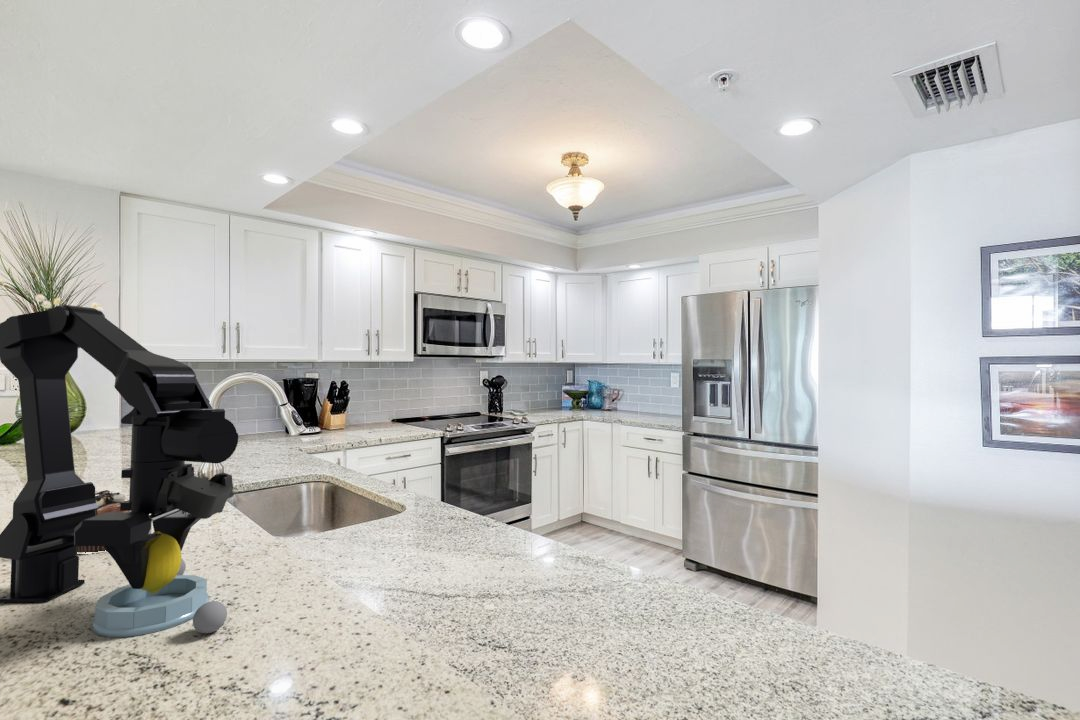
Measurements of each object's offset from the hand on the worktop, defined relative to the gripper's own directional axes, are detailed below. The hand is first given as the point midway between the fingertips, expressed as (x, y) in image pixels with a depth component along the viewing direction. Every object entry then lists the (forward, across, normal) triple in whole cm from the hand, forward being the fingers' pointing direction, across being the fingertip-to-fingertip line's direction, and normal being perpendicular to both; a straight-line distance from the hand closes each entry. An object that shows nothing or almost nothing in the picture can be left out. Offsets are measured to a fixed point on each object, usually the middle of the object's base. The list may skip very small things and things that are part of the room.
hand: (154, 579), depth 67 cm
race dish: (+4, 0, 0) cm, 4 cm away
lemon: (+2, 0, 0) cm, 2 cm away
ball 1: (+4, +11, +5) cm, 13 cm away
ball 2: (+4, -5, -10) cm, 12 cm away
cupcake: (+5, +27, +28) cm, 39 cm away
